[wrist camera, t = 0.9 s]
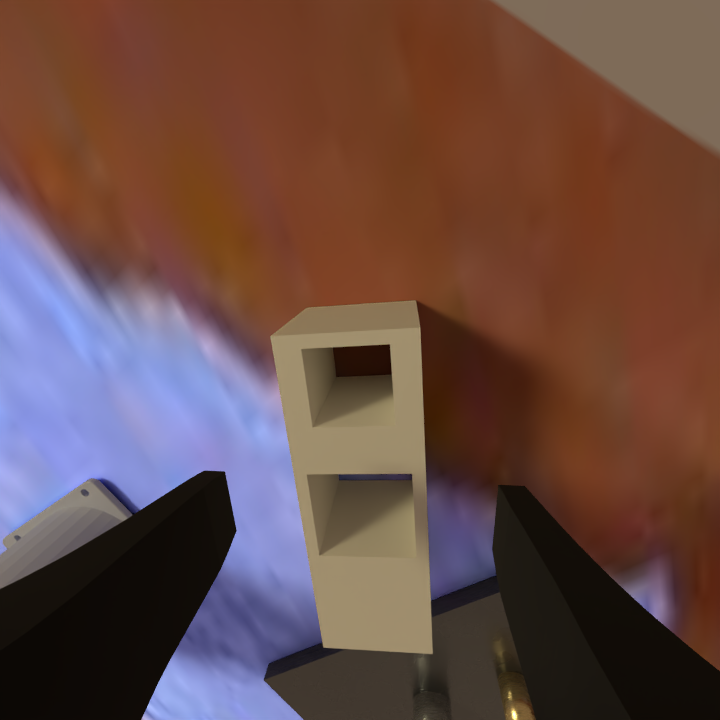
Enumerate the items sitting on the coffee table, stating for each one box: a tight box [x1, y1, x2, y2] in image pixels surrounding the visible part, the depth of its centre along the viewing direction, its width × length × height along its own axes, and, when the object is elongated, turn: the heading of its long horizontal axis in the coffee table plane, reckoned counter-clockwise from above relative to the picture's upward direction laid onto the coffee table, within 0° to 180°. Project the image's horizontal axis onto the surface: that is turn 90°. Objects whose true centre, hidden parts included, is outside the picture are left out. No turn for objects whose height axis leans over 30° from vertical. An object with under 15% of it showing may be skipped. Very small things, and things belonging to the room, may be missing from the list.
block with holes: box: [270, 300, 433, 654], centre depth 17 cm, size 15×5×5 cm, turn 5°
